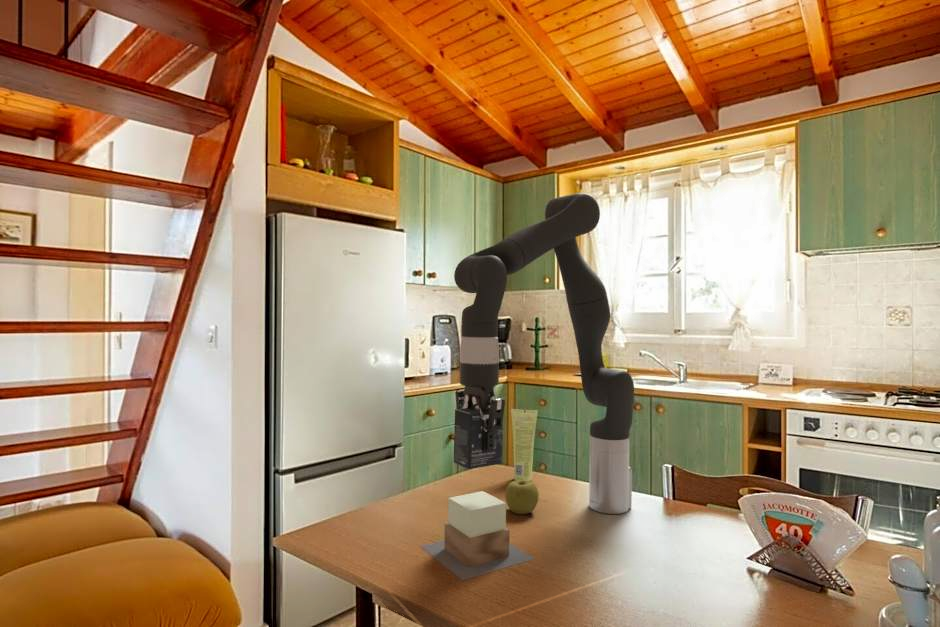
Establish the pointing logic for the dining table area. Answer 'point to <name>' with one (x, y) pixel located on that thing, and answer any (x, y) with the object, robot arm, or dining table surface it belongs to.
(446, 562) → the mat
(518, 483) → the apple
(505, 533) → the block base
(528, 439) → the tube
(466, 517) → the block top
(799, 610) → the dining table surface
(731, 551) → the dining table surface
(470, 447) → the box
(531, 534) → the dining table surface
